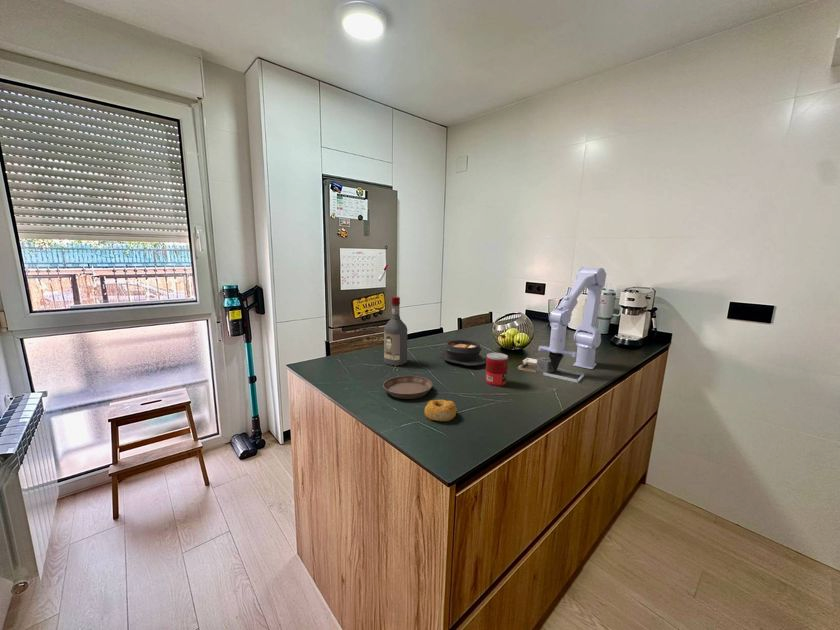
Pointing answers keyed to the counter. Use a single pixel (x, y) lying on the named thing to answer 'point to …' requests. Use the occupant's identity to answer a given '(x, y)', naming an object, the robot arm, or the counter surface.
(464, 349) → the casserole
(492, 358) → the canned food
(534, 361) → the dish
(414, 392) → the plant saucer
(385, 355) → the liquor
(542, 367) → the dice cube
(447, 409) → the bagel
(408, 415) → the counter surface
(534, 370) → the oak pen
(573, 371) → the metal frame
